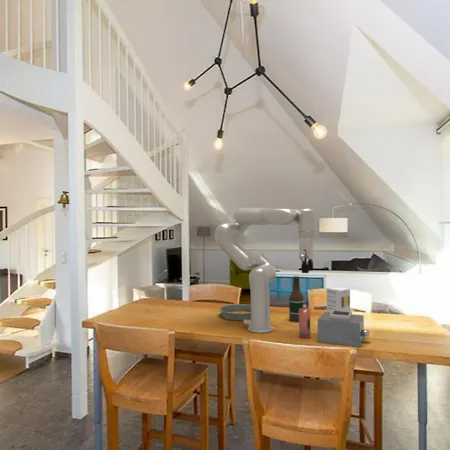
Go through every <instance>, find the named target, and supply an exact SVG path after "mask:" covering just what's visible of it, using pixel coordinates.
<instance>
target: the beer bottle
mask: <svg viewBox="0 0 450 450" xmlns="http://www.w3.org/2000/svg"><path fill="white" fill-rule="evenodd" d="M292 279H293V280H292V291H291V293H290V295H289V301H288V303H289V305H288V307H289V310H288V311H289V315H288V317H289V321H290V322H292V323H299V308H303V305H305V304H304V302H305V301H304V295H303V293H302V291H301V287H300V285H301V284H300V276H298V275H296V276H295V275H294V276H293V277H292Z"/></svg>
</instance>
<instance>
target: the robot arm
mask: <svg viewBox="0 0 450 450" xmlns="http://www.w3.org/2000/svg"><path fill="white" fill-rule="evenodd" d="M233 212H234V213H233V220H234V221H233V222H224V223H220V224H219V225H217V227H216V228H215V230H214V239H215V243H216V245H217V246H218V247H219V249H220V250H222V252H224V253H225V254H226V255H227V256H228V257H229V259H230V260H231V261H233V263H234V264H235V265H236V266H237V267H238V268H239V269H241V270H242V271H249V270H250V272H249V275H248V281H249V289H250V290H249V291H250V305H251V312H250V313H251V319H250V320H246V319H244V321H243V324H244V325H248V326H247V330H248V331H249V332H252V333H256V334H257V333H258V334H259V333H260V334H266V333H270V332H273V330H274V327H273V325H271V306H270V305H271V295H270V293H271V292H270V287H269V284H270V283H271V282H273V281H275V279H276V276H277V272H276V269H275V268H274V266H273V265H272V264H271V263H270V262H269V261H268V260H267V259H266V258H265V257H263V256H262V255H261V254H260V253H259V252H257V251H255V250H247V249H245V247H243V246H242V245H241V244H240V243H239V242H237V241H236V240H234V239H237V238H240V237H241V236H242V235H244V233H245V232H247V230H248V229H249V228H250V227H251V226H257V225H258V226H266V225H274V226H275V225H276V226H280V225H281V226H282V225H283V226H293V225H294V226H295V225H297V226H298V227H297V228H298V230H297V231H298V233H297V234H298V239H299V249H298V250H299V252H298V258H299V260H300V261H301V264H300V265H301V274H309V273H310V271H314V262H313V261H314V240H313V239H315V238H316V230H315V229H316V228H315V227H316V226H315V223H316V222H315V210H314V209H313V208H300V209H295V208H293V209H292V208H267V207H241V208H237V209H236V210H235V211H233Z"/></svg>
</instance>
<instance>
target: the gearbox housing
mask: <svg viewBox="0 0 450 450" xmlns="http://www.w3.org/2000/svg"><path fill="white" fill-rule="evenodd" d="M364 318H365V316H364V315H363V314H362V315H361V314H353V312H352V311H350V312H347V311H336V310H333V311H332V312H327V311H324V312H323V313H322V314H321V315H320V316H319V318H317V321H316V323H317V343H323V344H331V345H339V346H348V347H356V348H361V346H362V343H363V340H364V338H370V330H369V329H364V328H365V325H364V323H365V322H364V321H365V319H364Z"/></svg>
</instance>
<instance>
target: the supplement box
mask: <svg viewBox="0 0 450 450" xmlns="http://www.w3.org/2000/svg"><path fill="white" fill-rule="evenodd" d="M333 310H336V311H347V312H351V288H348V287H341V286H340V287H339V286H334V287H328V288H326V312H332V311H333Z"/></svg>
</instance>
